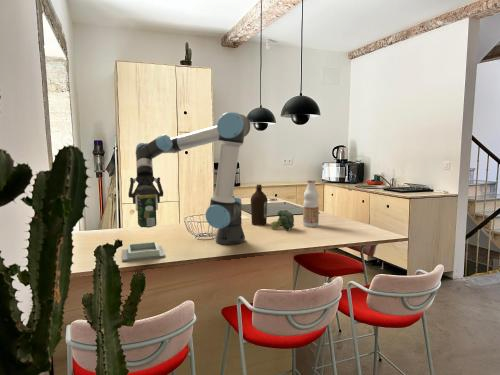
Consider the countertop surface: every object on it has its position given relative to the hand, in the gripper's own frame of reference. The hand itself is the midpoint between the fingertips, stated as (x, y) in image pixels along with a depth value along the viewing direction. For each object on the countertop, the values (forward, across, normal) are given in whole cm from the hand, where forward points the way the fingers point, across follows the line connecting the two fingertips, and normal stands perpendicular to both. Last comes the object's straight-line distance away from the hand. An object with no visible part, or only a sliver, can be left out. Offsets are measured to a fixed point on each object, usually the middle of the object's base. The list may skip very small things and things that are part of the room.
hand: (146, 208), depth 159 cm
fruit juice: (-6, -98, -35) cm, 105 cm away
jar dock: (+14, +2, -16) cm, 22 cm away
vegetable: (-4, -78, -33) cm, 85 cm away
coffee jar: (+4, 0, -9) cm, 10 cm away
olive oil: (-16, -70, -46) cm, 86 cm away
